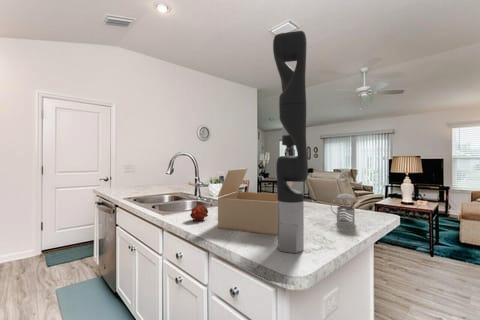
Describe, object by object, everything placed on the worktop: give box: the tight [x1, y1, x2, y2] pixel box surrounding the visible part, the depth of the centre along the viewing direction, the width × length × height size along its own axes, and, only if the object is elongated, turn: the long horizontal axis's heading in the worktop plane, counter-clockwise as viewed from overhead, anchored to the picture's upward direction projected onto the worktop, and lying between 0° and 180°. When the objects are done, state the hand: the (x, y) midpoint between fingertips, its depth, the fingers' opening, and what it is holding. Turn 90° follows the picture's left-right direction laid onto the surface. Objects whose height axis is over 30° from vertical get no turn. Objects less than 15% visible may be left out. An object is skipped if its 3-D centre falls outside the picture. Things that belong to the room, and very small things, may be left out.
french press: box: [330, 173, 358, 229], centre depth 116 cm, size 10×12×25 cm
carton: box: [217, 191, 278, 236], centre depth 117 cm, size 24×28×14 cm
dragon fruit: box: [189, 204, 209, 222], centre depth 126 cm, size 8×8×12 cm
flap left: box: [217, 167, 249, 198], centre depth 122 cm, size 23×14×1 cm
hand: (289, 172), depth 112 cm, fingers closed
